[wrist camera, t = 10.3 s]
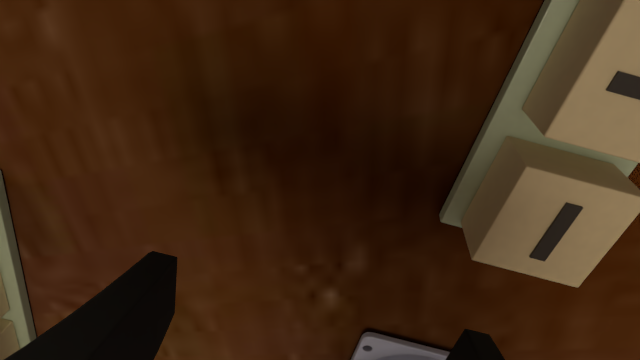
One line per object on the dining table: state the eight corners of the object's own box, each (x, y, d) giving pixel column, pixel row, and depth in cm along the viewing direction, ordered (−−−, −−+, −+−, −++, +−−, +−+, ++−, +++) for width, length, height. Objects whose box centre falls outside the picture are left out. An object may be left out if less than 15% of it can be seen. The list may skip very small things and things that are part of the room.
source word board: (563, 247, 19) (594, 300, 16) (438, 214, 19) (449, 262, 16) (898, -207, 11) (1076, -253, 8) (678, -273, 11) (782, -342, 8)
